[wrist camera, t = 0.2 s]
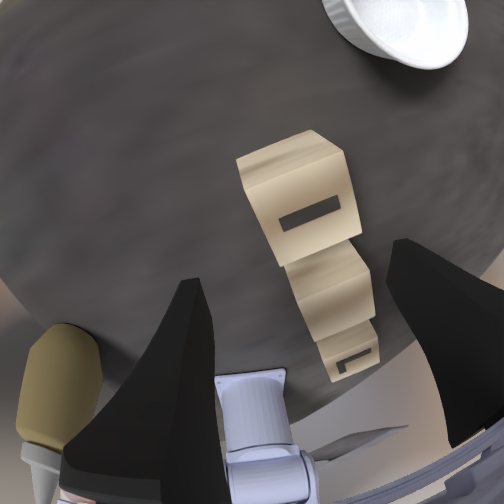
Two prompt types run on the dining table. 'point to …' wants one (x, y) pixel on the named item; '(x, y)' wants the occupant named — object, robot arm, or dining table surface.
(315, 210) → the numbered block one
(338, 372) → the numbered block seven
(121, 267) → the dining table surface
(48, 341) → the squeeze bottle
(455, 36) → the ramekin
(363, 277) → the plain block
